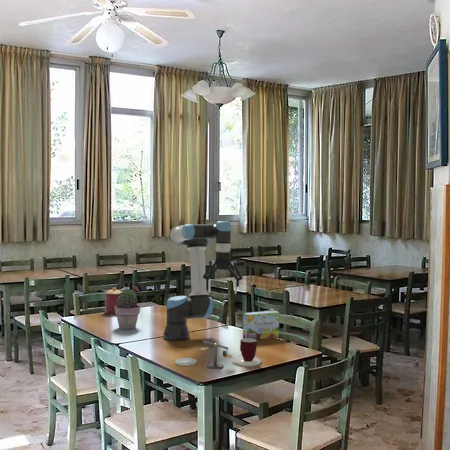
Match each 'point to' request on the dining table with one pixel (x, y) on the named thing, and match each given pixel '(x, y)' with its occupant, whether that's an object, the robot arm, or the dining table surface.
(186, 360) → the saucer left
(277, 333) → the snack box
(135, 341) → the dining table surface
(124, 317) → the potted plant
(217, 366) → the balance
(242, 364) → the dish right
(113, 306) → the canister
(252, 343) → the mug
